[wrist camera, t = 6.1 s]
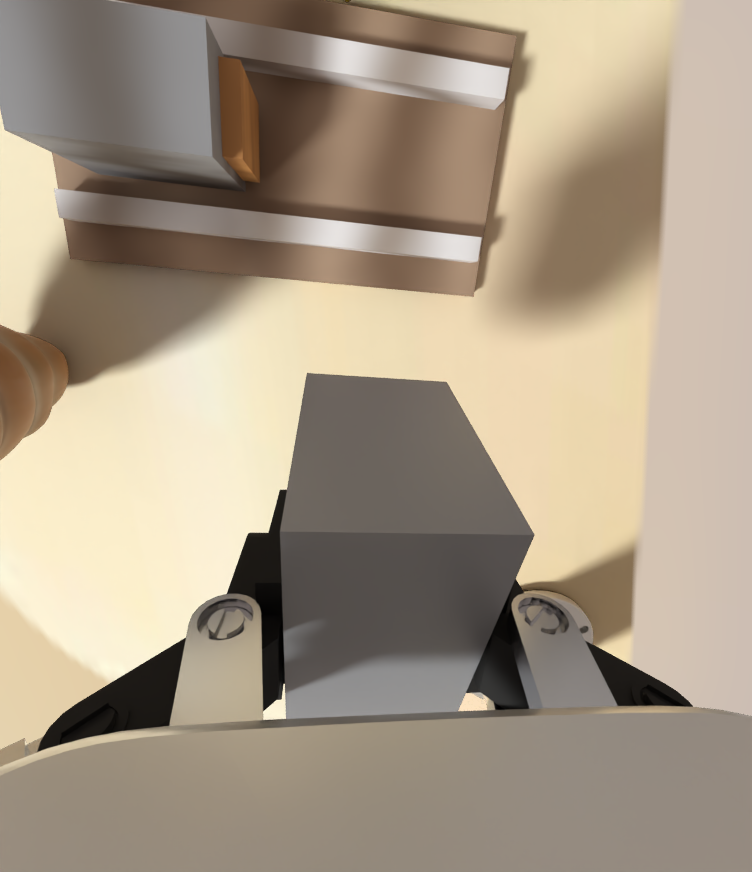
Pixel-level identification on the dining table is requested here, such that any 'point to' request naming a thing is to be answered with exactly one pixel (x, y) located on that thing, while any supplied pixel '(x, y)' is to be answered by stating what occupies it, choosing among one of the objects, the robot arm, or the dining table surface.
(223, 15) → the rail mount
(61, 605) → the dining table surface
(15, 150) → the dining table surface
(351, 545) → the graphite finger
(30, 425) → the cat ice cream
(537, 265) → the dining table surface
